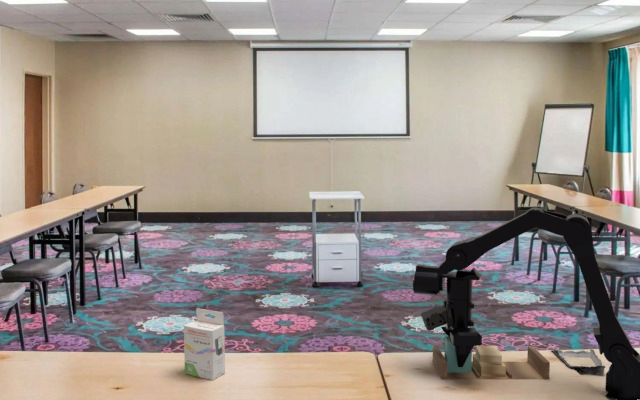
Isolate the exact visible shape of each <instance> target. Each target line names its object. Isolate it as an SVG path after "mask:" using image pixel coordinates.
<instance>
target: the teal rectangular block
mask: <svg viewBox="0 0 640 400" xmlns="http://www.w3.org/2000/svg"><path fill="white" fill-rule="evenodd" d="M448 338H450V336H449V337H448V336H444V358H445V360H446V361H447V372H471V369H472V362H473V349H472V350H471V352H470V354H469V356H468V358H467V360H466V362H465V364H464V366H463V367H458V365H457V359H456V352H455V346H454V345H453V344H452V343H451V342H450V341H449V339H448Z"/></svg>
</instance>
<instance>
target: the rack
mask: <svg viewBox="0 0 640 400" xmlns="http://www.w3.org/2000/svg"><path fill="white" fill-rule="evenodd" d="M526 357H527V358H526V359H527V361H502V362H503V363H504V364H505V366H506V377H481V375H480V374H479V373H478V371H477V370H476V368H475V367H474V365H473V361H472V369H471V372H447V361H446V360H445V355H444V354H443V353H442V351H441V349H440V347H439V346H437V345H436V346H435V345H433V346H432V364H433V365H434V367H435V370H436V371H437V373H438V376H439V378H440V379H441V380H550V370H551V369H550V368H551V367H550V366H551V364H550V363H551V362H550V361H549V360H548V359H547V358H546V357H545V356H544V355H543V354H542V353H541V352H539V350H537V349H536V348H535V347H534V346H533V345H529V346H527V356H526Z"/></svg>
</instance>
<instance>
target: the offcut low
mask: <svg viewBox="0 0 640 400" xmlns="http://www.w3.org/2000/svg"><path fill="white" fill-rule="evenodd" d="M472 362H473V365H474V367H475V368H476V370H477V371H478V373H479V374H480V375H481V377H506V366H505V364H504V363H503V362H504V361H502V365H480V364H479V361H478V359H477V357H476V353H472Z"/></svg>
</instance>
